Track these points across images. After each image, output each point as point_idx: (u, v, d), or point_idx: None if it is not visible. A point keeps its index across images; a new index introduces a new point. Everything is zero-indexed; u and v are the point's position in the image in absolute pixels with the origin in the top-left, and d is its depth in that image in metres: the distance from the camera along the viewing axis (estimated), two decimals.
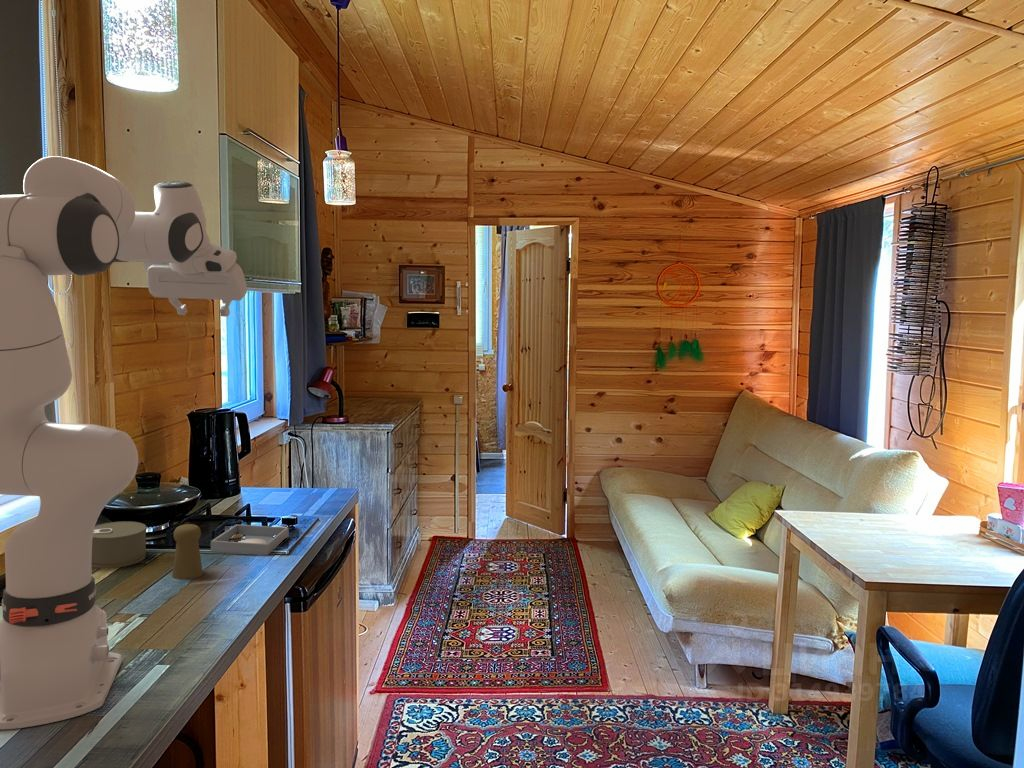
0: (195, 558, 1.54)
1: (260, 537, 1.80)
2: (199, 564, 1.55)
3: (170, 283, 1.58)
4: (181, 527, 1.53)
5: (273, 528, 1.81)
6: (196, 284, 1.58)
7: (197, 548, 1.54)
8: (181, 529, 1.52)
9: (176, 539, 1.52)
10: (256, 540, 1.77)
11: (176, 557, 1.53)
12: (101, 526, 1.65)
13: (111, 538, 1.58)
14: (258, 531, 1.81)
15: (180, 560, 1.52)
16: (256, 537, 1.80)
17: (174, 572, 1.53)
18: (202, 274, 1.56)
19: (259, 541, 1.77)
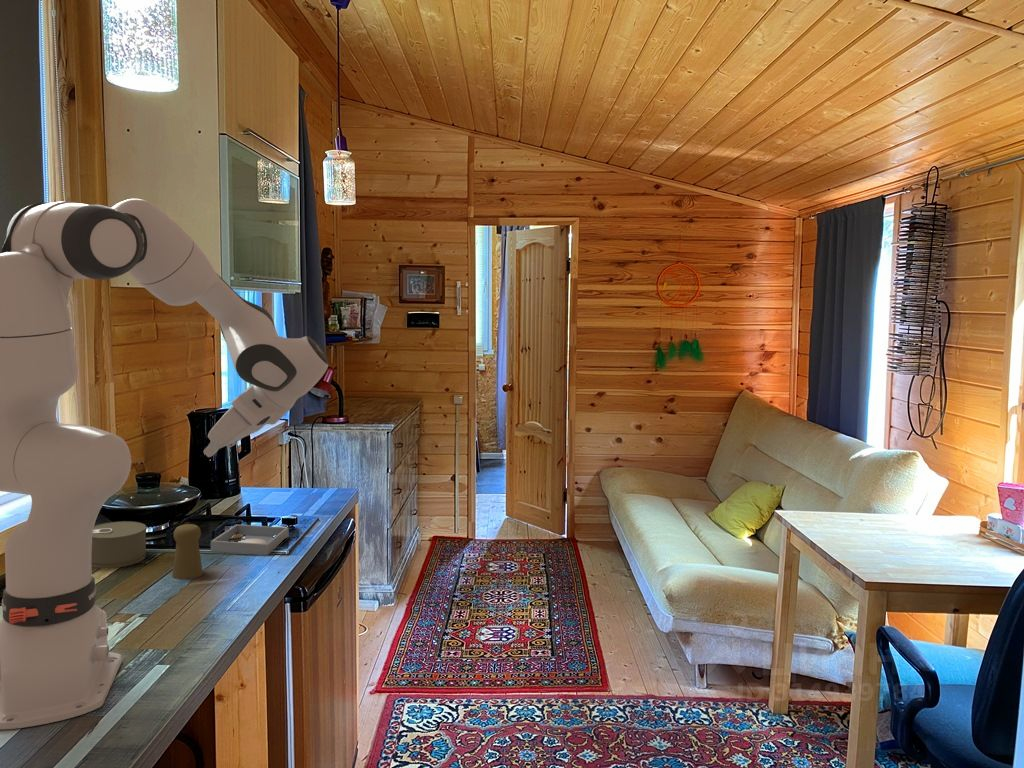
0: (195, 558, 1.54)
1: (260, 537, 1.80)
2: (199, 564, 1.55)
3: None
4: (181, 527, 1.53)
5: (273, 528, 1.81)
6: None
7: (197, 548, 1.54)
8: (181, 529, 1.52)
9: (176, 539, 1.52)
10: (256, 540, 1.77)
11: (176, 557, 1.53)
12: (101, 526, 1.65)
13: (111, 538, 1.58)
14: (258, 531, 1.81)
15: (180, 560, 1.52)
16: (256, 537, 1.80)
17: (174, 572, 1.53)
18: None
19: (259, 541, 1.77)
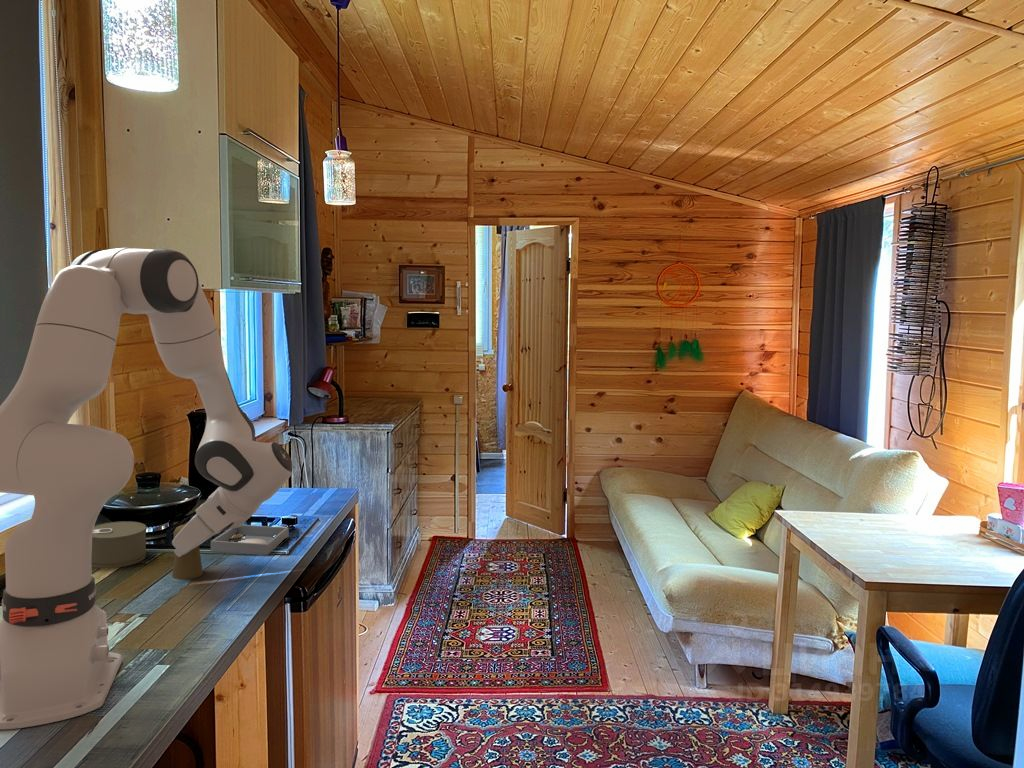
0: (195, 558, 1.54)
1: (260, 537, 1.80)
2: (199, 564, 1.55)
3: None
4: (181, 527, 1.53)
5: (273, 528, 1.81)
6: None
7: (197, 548, 1.54)
8: None
9: None
10: (256, 540, 1.77)
11: (176, 557, 1.53)
12: (101, 526, 1.65)
13: (111, 538, 1.58)
14: (258, 531, 1.81)
15: (180, 559, 1.52)
16: (256, 537, 1.80)
17: (174, 572, 1.53)
18: None
19: (259, 541, 1.77)
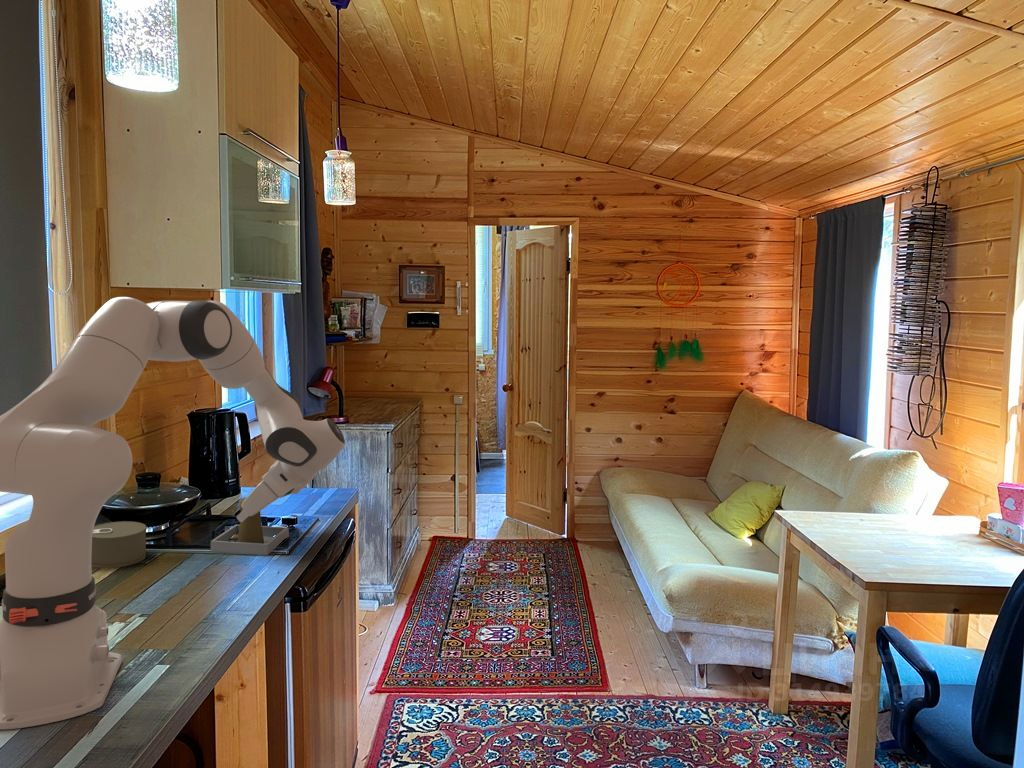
0: (258, 526, 1.74)
1: None
2: (261, 532, 1.75)
3: None
4: None
5: (273, 528, 1.81)
6: None
7: (259, 517, 1.74)
8: None
9: (242, 509, 1.72)
10: None
11: (241, 525, 1.73)
12: (101, 526, 1.65)
13: (111, 538, 1.58)
14: None
15: (245, 527, 1.72)
16: None
17: (239, 538, 1.73)
18: None
19: None
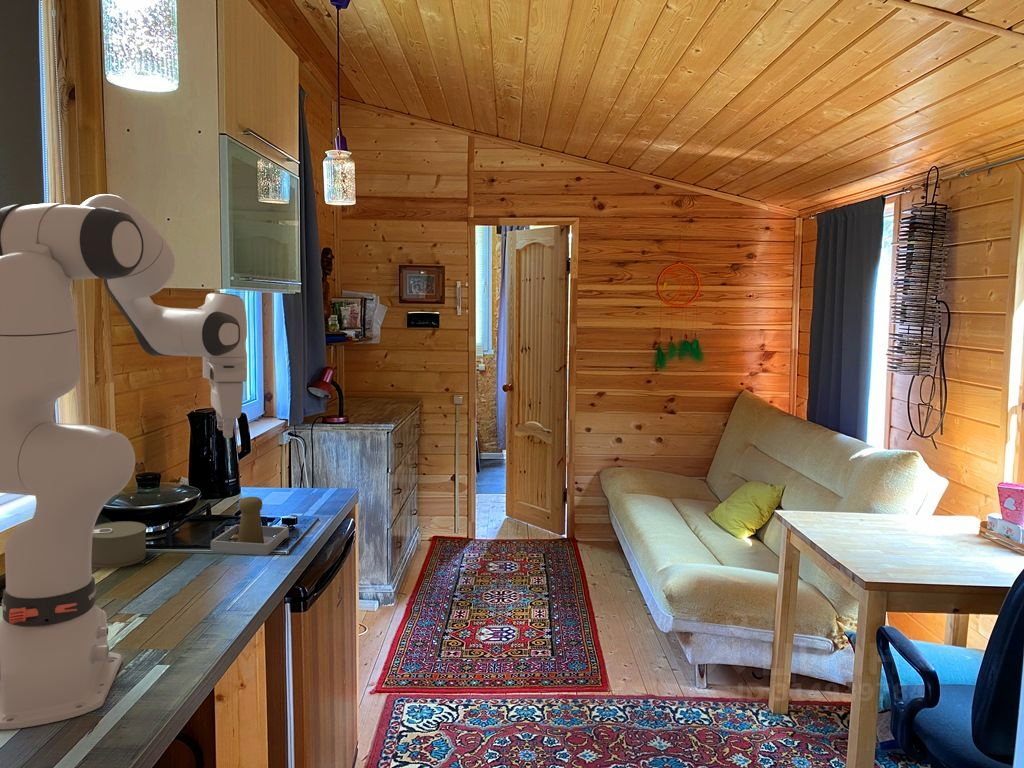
0: (258, 526, 1.74)
1: None
2: (261, 532, 1.75)
3: (213, 393, 1.63)
4: (246, 499, 1.73)
5: (273, 528, 1.81)
6: (216, 395, 1.58)
7: (259, 517, 1.74)
8: (246, 500, 1.72)
9: (241, 509, 1.72)
10: None
11: (241, 525, 1.73)
12: (101, 526, 1.65)
13: (111, 538, 1.58)
14: None
15: (244, 527, 1.72)
16: None
17: (239, 538, 1.73)
18: None
19: None
